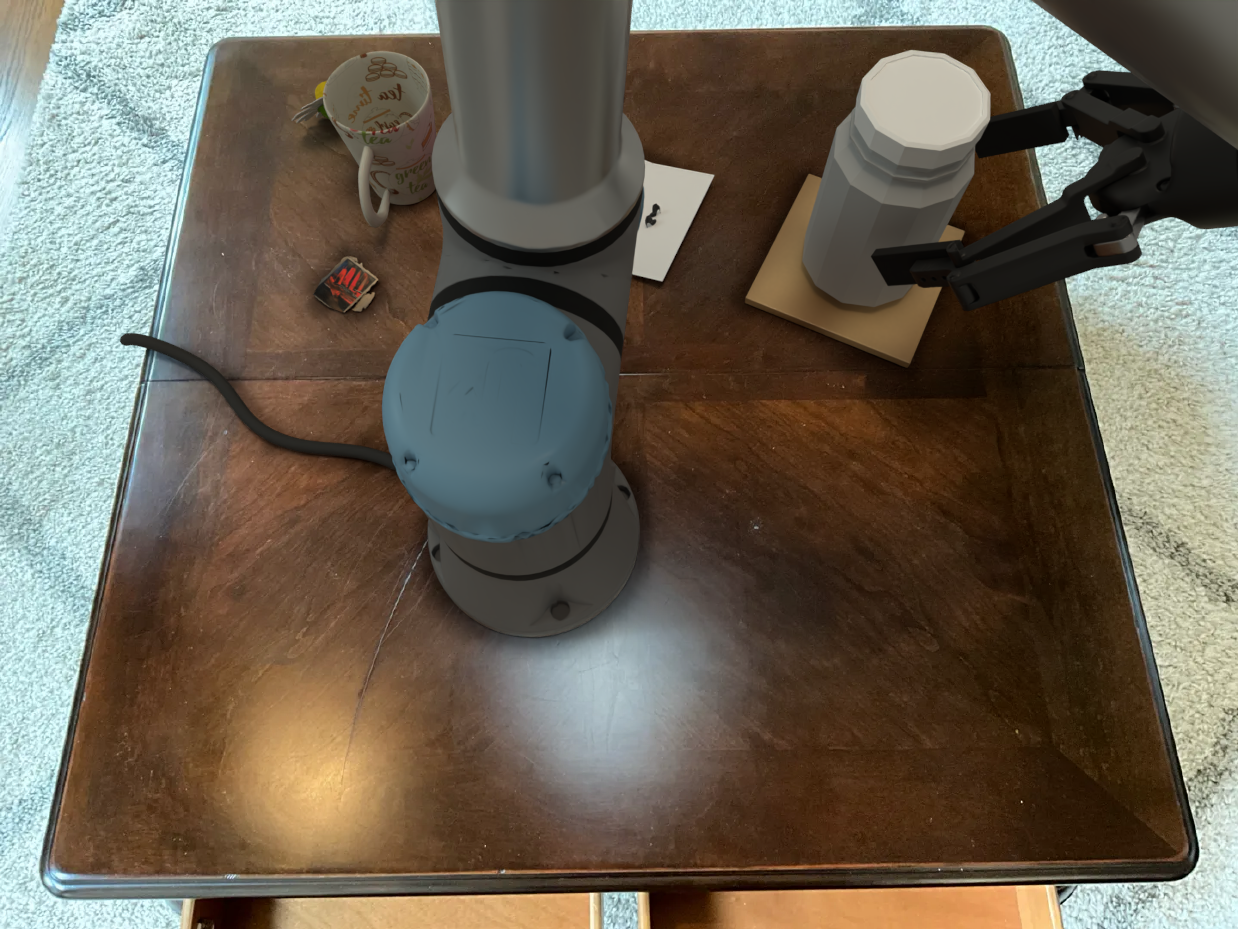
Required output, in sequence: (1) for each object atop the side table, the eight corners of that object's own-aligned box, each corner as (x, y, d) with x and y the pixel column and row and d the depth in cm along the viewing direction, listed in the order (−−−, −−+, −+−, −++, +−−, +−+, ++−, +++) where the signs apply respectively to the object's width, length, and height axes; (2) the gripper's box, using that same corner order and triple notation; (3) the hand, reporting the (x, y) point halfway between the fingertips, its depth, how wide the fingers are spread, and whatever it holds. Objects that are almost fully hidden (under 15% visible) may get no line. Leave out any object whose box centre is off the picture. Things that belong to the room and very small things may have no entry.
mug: (460, 143, 79) (438, 53, 70) (437, 261, 74) (409, 181, 65) (369, 137, 79) (334, 47, 70) (340, 254, 74) (298, 173, 65)
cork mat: (744, 302, 72) (745, 297, 71) (807, 179, 77) (808, 172, 76) (907, 368, 70) (910, 363, 69) (962, 236, 74) (965, 230, 74)
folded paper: (661, 289, 73) (662, 275, 71) (529, 241, 75) (527, 226, 73) (714, 181, 77) (716, 166, 75) (587, 139, 79) (586, 122, 77)
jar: (904, 210, 75) (982, 33, 58) (930, 309, 71) (1022, 150, 54) (789, 220, 74) (835, 45, 58) (810, 319, 71) (865, 164, 54)
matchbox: (310, 300, 73) (308, 297, 72) (341, 253, 74) (340, 249, 74) (359, 320, 72) (357, 317, 71) (390, 271, 74) (388, 268, 73)
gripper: (1206, 374, 43) (864, 365, 61) (1374, 60, 51) (1027, 133, 68) (1164, 257, 40) (813, 283, 57) (1351, -62, 47) (990, 47, 64)
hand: (928, 201), depth 63 cm, fingers open, 13 cm apart
